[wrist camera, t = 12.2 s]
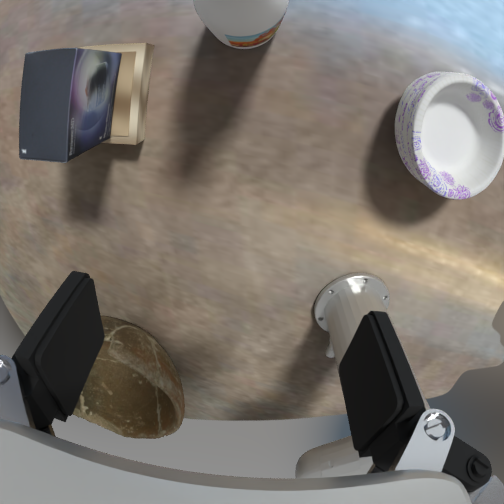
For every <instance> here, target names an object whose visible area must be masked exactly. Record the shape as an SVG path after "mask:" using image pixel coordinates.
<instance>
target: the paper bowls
mask: <svg viewBox="0 0 504 504" xmlns="http://www.w3.org/2000/svg"><path fill="white" fill-rule="evenodd" d="M395 138H396V145H397V148H398V151H399V154H400V157H401V159H402V161H403V163H404V164H405V166H406V168H407V169H408V170H409V172H410V173H411V174H412V175H413V176H414V177H415V178H416V179H418V180H419V181H420V182H421V183H423V184H424V185H426V186H427V187H428V188H429V189H431V190H432V191H433V192H435V193H436V194H438V195H440V196H442V197H445V198H448V199H457V200H460V199H466V198H470V197H473V196H475V195H477V194H478V193H480V192H481V191H483V190H484V189H485V188H486V187H487V186H488V185H489V184H490V183H491V182H492V181H493V179H494V178H495V176H496V175H497V173H498V171H499V169H500V167H501V164H502V161H503V158H504V115H503V112H502V109H501V107H500V105H499V103H498V101H497V99H496V97H495V95H494V94H493V93H492V91H491V90H490V89H489V88H488V87H487V86H486V85H485V84H484V83H483V82H481V81H480V80H478V79H477V78H475V77H473V76H471V75H468V74H463V73H454V72H432V73H428V74H425V75H423V76H421V77H419V78H418V79H416V80H415V81H414V82H412V83H411V84H410V85H409V86H408V87H407V89H406V90H405V92H404V94H403V96H402V98H401V100H400V102H399V105H398V109H397V112H396V117H395Z"/></svg>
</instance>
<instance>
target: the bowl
mask: <svg viewBox="0 0 504 504" xmlns="http://www.w3.org/2000/svg"><path fill="white" fill-rule="evenodd" d="M101 320H102V325H103V329H104V334H105V337H104V342H103V345H102V347H101V349H100V351H99V353H98V356H97V358H96V360H95V362H94V364H93V367H92V369H91V371H90V374H89V376H88V378H87V381H86V383H85V385H84V388H83V390H82V392H81V395H80V397H79V400H78V402H77V405H76V407H75V410H74V412H73V415H76V416H77V417H81V418H83V419H86V420H87V421H89V422H92V423H95V424H97V425H99V426H101V427H104V428H106V429H108V430H111V431H113V432H115V433H117V434H119V435H122V436H124V437H131V438H149V439H152V438H153V439H156V438H160V437H164V435H166V436H167V435H170V434H172V433H174V432H175V431H177V429H179V427H180V426H181V424H182V421H183V418H184V408H185V405H184V395H183V389H182V384H181V381H180V378H179V375H178V372H177V370H176V368H175V366H174V364H173V362H172V361H171V359H170V357H169V356H168V354H167V353H166V351H165V350H164V349H163V348H162V347H161V346H160V345H159V344H158V343H157V342H156V340H155V339H154V337H153V336H151V335H150V334H149V333H147V332H146V331H144V330H143V329H141V328H139V327H138V326H136V325H133V324H131V323H129V322H126V321H123V320H120V319H117V318H113V317H108V316H101Z"/></svg>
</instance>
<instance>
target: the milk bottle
mask: <svg viewBox="0 0 504 504" xmlns="http://www.w3.org/2000/svg"><path fill="white" fill-rule="evenodd" d="M193 1H194V6H195V9H196V11H197V13H198V15H199V17H200V18H201V20H202V21H203V23H204V24H205V25H206V26H207V27H208V29H209V30H210V31H211V32H212V33H213V34H214V35H215V36H216V38H218V39H219V40H220V41H221V42H222V43H224V44H226V45H228V46H230V47H233V48H238V49H250V48H255V47H258V46H261V45H263V44H264V43H266V42H267V41H269V40H270V39H271V38H272V37H273V36H274V34H275V33H276V31H277V29H278V28H279V26H280V24H281V22H282V19H283V17H284V15H285V13H286V10H287V6H288V3H289V0H193Z"/></svg>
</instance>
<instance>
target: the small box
mask: <svg viewBox="0 0 504 504" xmlns="http://www.w3.org/2000/svg"><path fill="white" fill-rule="evenodd" d="M121 56H122V53H116V52H109V51H101V50H92V49H81V48H63V49H52V50H43V51H36V52H29V53H26V55H25V61H24V69H23V78H22V88H21V101H20V121H19V157H20V159H26V160H40V161H50V162H61V163H66V162H68V161H69V160H71V159H73V158H75V157H76V156H78V155H80V154H82V153H83V152H85V151H87V150H89V149H91V148H92V147H94V146H96V145H98V144H100V143H102V142H104V141H106V140H108V139H110V135H111V125H112V115H113V106H114V99H115V92H116V85H117V78H118V73H119V67H120V61H121Z"/></svg>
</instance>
